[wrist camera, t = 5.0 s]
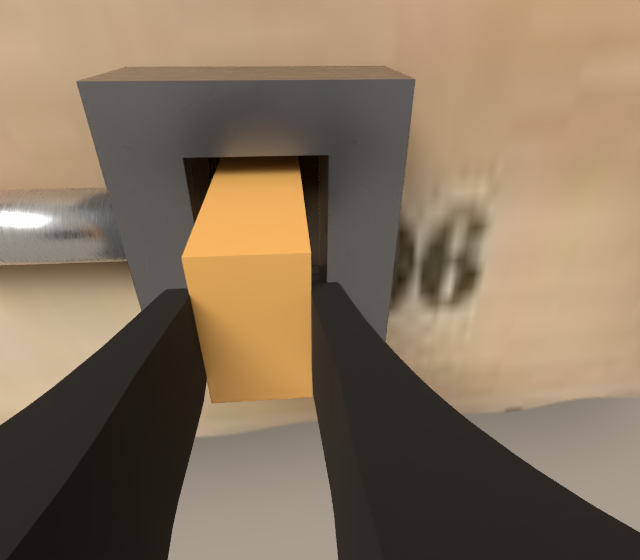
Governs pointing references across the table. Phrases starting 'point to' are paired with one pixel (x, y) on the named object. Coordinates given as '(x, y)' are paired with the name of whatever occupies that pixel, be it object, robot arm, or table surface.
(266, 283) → the tall orange cuboid
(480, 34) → the table surface
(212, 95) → the grey peg hole fixture
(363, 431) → the robot arm
